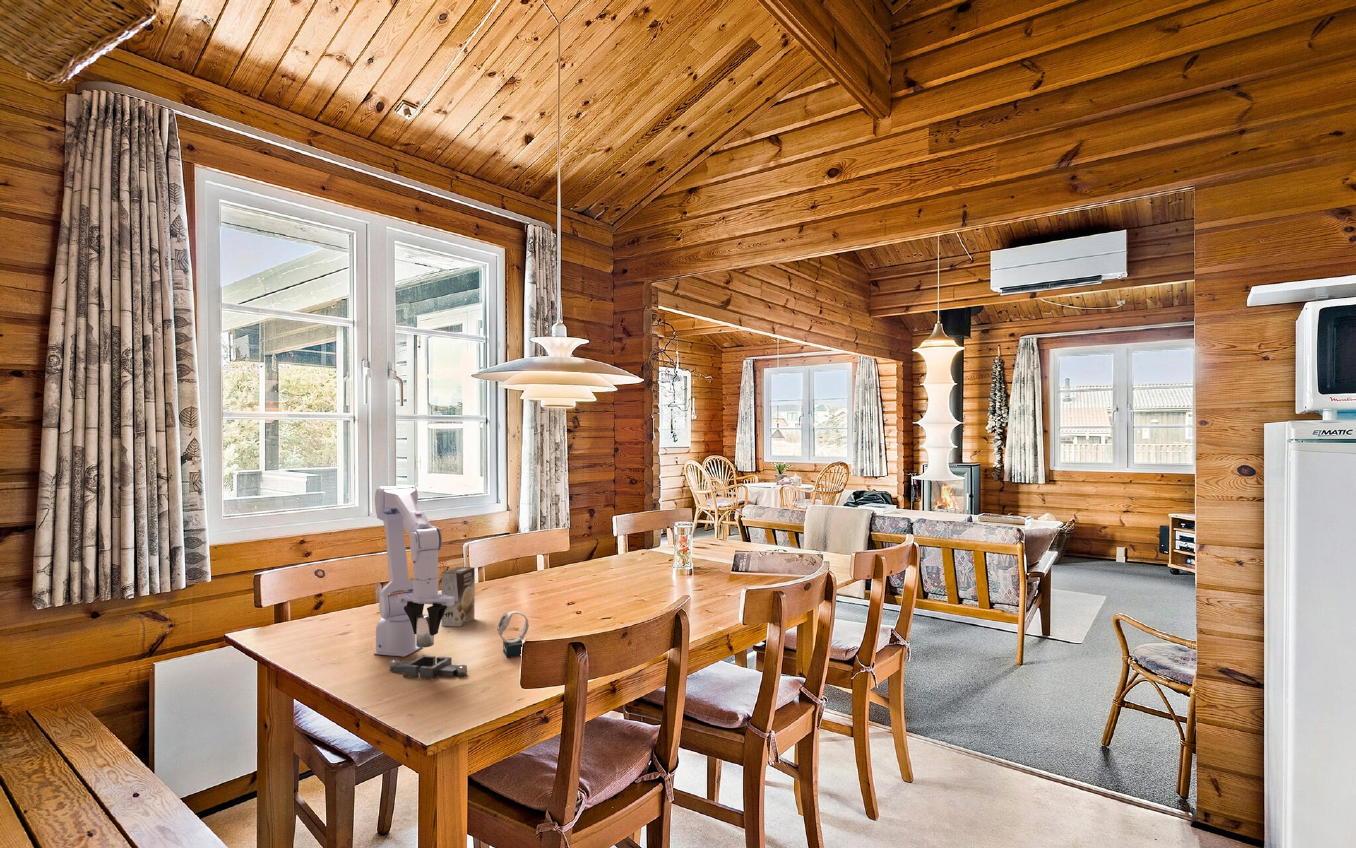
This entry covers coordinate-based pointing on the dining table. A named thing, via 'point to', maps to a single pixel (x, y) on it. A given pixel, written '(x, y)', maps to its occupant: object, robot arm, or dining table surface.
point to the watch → (511, 645)
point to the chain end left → (411, 665)
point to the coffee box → (459, 595)
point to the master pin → (423, 631)
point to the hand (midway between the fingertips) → (425, 633)
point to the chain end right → (443, 669)
